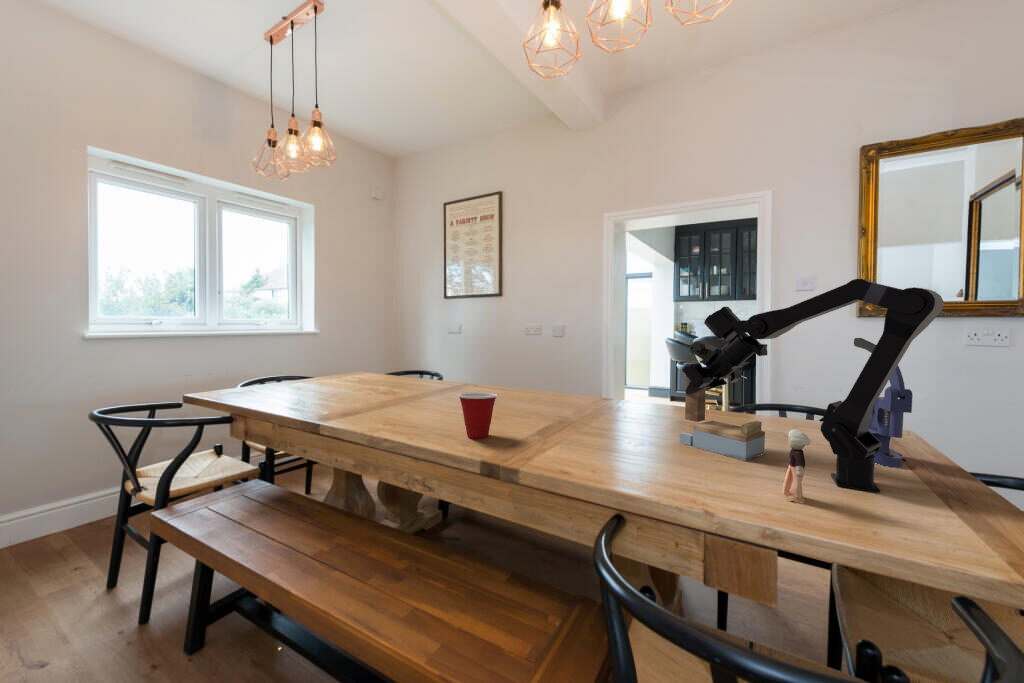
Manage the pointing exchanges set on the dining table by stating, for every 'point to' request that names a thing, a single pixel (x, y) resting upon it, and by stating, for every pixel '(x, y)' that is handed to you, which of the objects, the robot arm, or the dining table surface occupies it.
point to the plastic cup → (477, 413)
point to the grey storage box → (724, 444)
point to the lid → (732, 430)
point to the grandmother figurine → (795, 466)
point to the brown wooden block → (695, 404)
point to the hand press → (888, 413)
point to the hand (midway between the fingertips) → (690, 392)
